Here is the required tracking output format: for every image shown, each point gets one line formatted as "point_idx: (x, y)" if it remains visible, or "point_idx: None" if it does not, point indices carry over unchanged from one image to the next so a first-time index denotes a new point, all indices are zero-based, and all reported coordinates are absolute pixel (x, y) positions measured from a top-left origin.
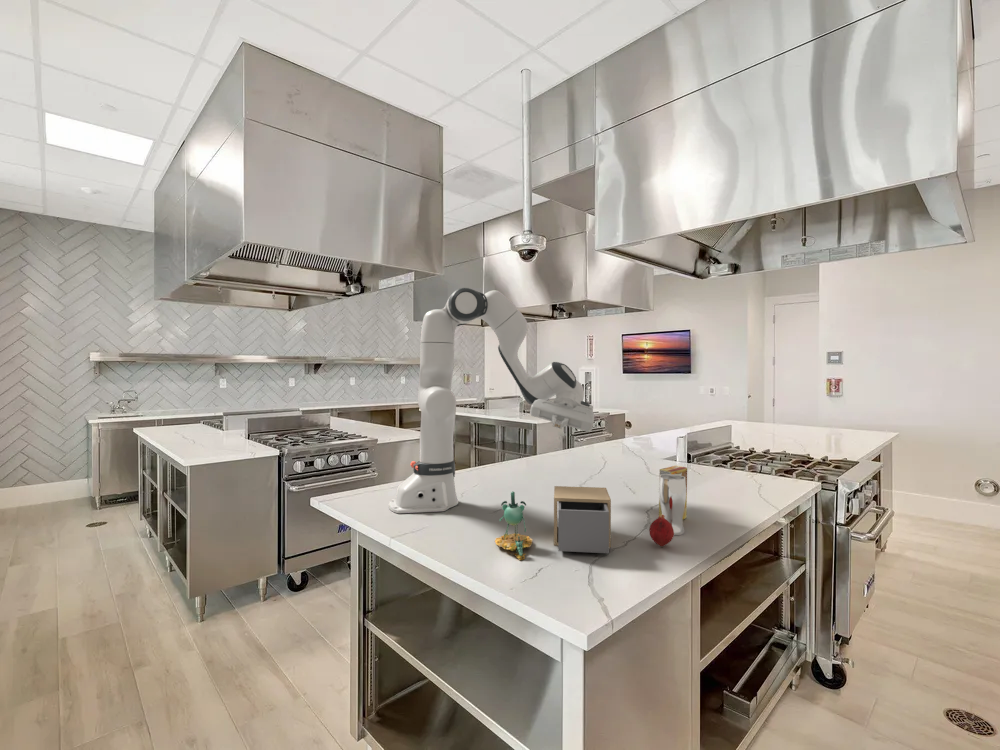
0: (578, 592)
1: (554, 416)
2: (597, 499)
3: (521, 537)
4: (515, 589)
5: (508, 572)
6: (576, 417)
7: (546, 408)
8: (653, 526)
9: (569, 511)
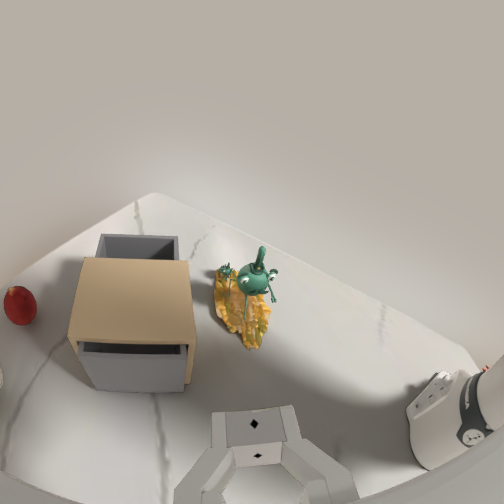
0: (154, 223)
1: (325, 471)
2: (107, 258)
3: (233, 310)
4: (209, 225)
5: (224, 248)
6: None
7: (458, 481)
8: (29, 294)
9: (160, 237)
